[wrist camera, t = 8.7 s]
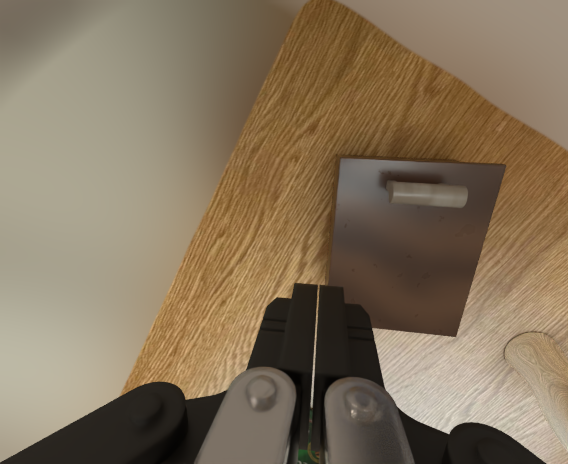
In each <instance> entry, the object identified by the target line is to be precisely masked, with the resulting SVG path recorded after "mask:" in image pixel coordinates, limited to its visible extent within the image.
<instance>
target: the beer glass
mask: <svg viewBox="0 0 568 464" xmlns="http://www.w3.org/2000/svg"><path fill="white" fill-rule="evenodd" d="M504 356H505V359H506V361H507V363H508V364H509V365H510V366H511V367H512V368H513V369H514V370H515V371H516V372H517V373H518V374H519V375H520V376H521V377H522V378H523V379H524V380H525V381H526V383H527V384H528V386H529V387H530V389H531V391H532V393H533V395H534V397H535V399H536V401H537V403H538V405H539V407H540V409H541V411H542V413H543V415H544V417H545V419H546V421H547V422H548V424H549V426H550V428H551V430H552V431H553V433H554V434H555V436H556V437H557V438H558V440H559V441H560V443H561V444H562V446H563V447H564V448H565V450H566V451H567V452H568V358H567V357H566V355H565V354H564V353H563V351H562V350H561V348H560V347H559V345H558V344H557V342H556V341H555V340H554V339H553V338H551V337H550V336H548V335H546V334H543V333H538V332H530V333H525V334H521V335H519V336H517V337H515V338H513V339H512V340H511V341H510V342H509V343H508V344H507V346H506V348H505V351H504Z"/></svg>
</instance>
